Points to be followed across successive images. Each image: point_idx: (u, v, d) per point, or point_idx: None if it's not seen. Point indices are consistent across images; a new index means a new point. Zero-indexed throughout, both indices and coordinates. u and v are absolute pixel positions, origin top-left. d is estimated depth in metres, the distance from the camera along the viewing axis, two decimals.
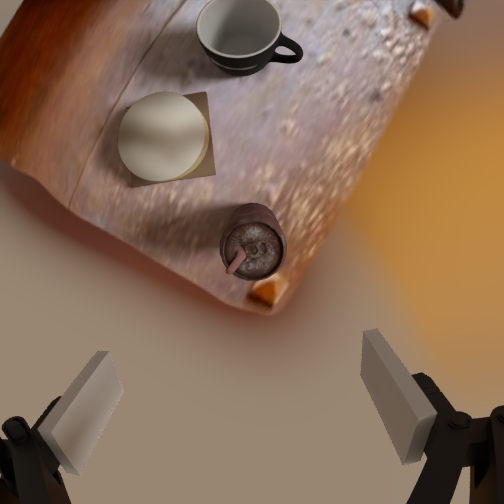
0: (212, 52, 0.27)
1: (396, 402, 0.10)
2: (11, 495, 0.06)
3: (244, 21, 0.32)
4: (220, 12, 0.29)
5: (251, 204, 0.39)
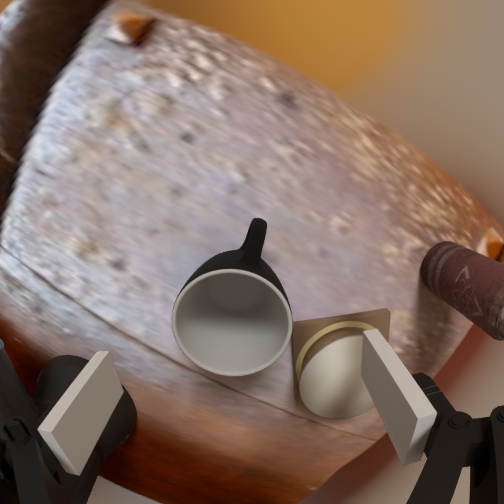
0: None
1: (396, 402, 0.10)
2: (11, 495, 0.06)
3: (195, 290, 0.29)
4: (195, 333, 0.26)
5: (429, 274, 0.30)
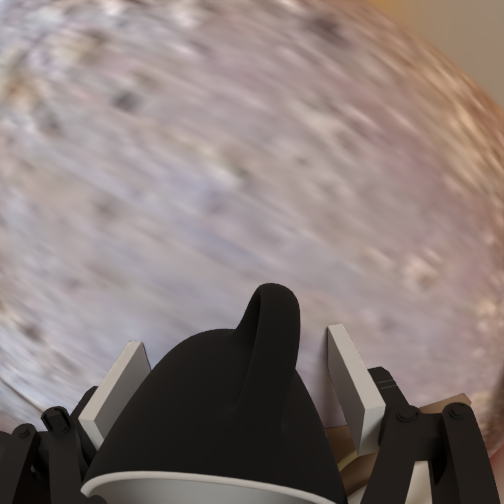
0: None
1: (351, 393, 0.11)
2: (41, 490, 0.07)
3: None
4: (148, 493, 0.10)
5: None
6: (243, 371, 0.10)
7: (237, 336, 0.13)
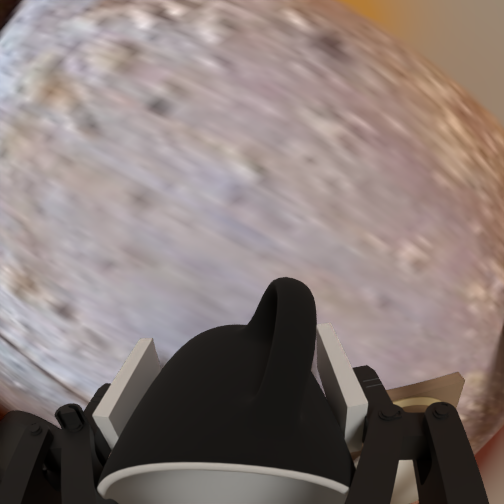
0: None
1: (335, 392, 0.11)
2: (51, 489, 0.07)
3: None
4: (161, 489, 0.11)
5: None
6: (258, 364, 0.11)
7: (250, 331, 0.13)
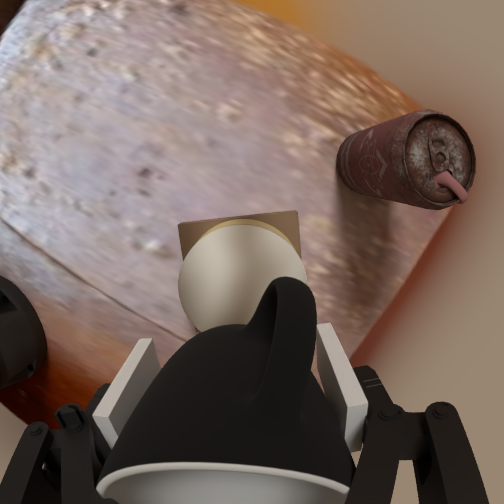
0: None
1: (335, 392, 0.11)
2: (51, 489, 0.07)
3: None
4: (160, 489, 0.11)
5: (341, 162, 0.26)
6: (258, 363, 0.11)
7: (249, 330, 0.13)
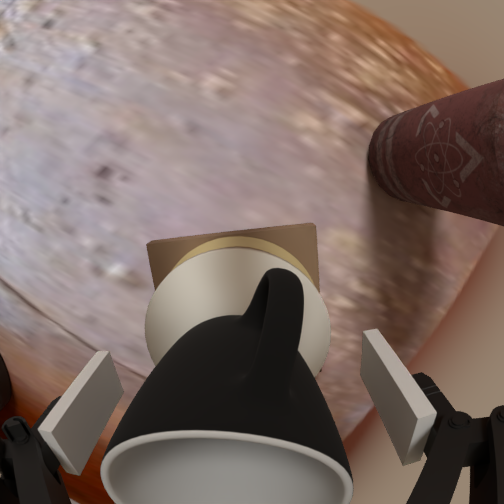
0: None
1: (396, 402, 0.10)
2: (11, 495, 0.06)
3: None
4: (161, 471, 0.12)
5: (378, 156, 0.18)
6: (252, 348, 0.12)
7: (246, 319, 0.14)
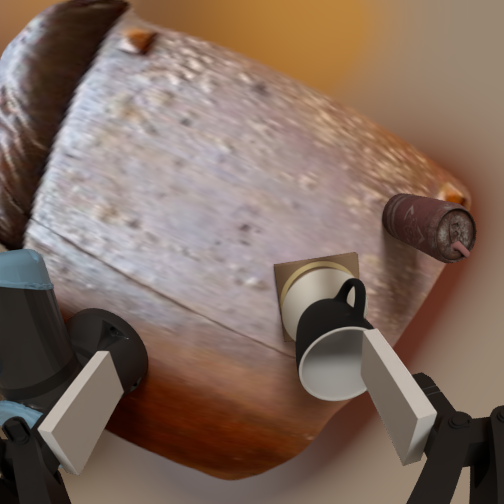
0: None
1: (396, 402, 0.10)
2: (11, 495, 0.06)
3: None
4: (305, 370, 0.32)
5: (387, 219, 0.38)
6: (345, 307, 0.32)
7: (337, 298, 0.34)
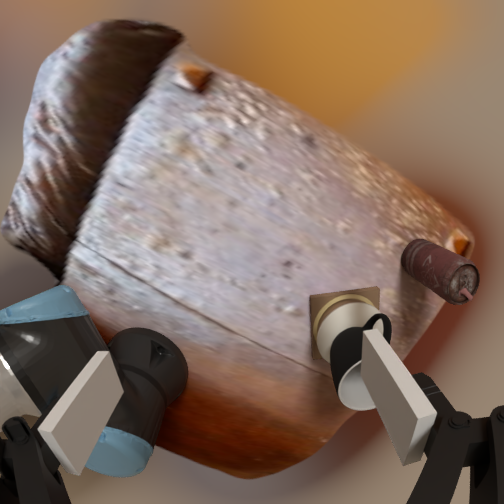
0: None
1: (396, 402, 0.10)
2: (11, 495, 0.06)
3: None
4: None
5: (406, 261, 0.44)
6: None
7: (365, 328, 0.41)
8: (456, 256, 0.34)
